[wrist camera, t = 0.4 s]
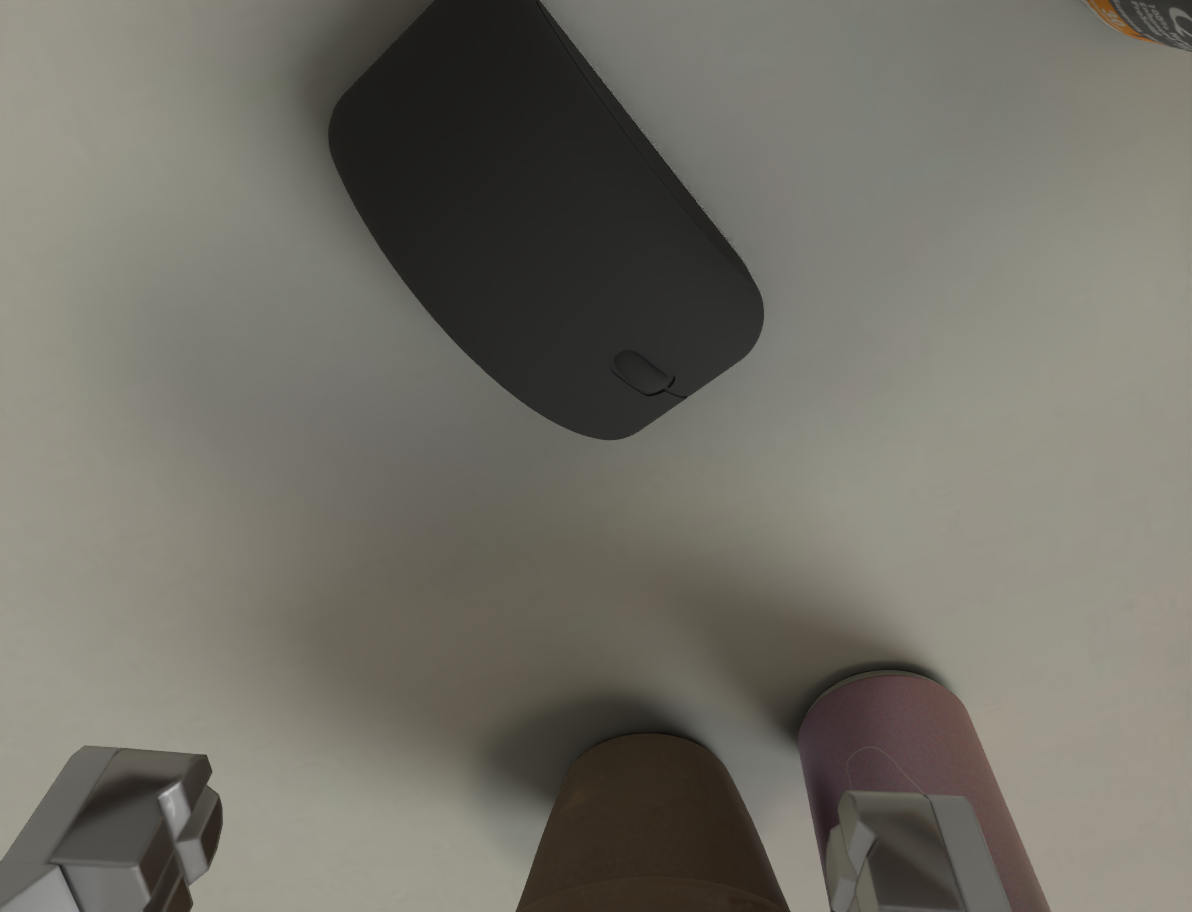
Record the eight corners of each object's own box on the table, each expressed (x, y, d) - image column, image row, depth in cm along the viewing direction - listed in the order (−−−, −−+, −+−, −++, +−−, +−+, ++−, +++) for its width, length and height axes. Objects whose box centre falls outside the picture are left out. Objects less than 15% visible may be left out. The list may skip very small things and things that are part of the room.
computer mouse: (602, 437, 26) (598, 515, 23) (310, 130, 22) (251, 170, 19) (782, 310, 24) (806, 375, 21) (495, -59, 20) (465, -53, 16)
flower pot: (644, 623, 30) (648, 908, 21) (863, 779, 34) (941, 1075, 25) (441, 785, 35) (379, 1071, 26) (653, 906, 38) (659, 1192, 30)
